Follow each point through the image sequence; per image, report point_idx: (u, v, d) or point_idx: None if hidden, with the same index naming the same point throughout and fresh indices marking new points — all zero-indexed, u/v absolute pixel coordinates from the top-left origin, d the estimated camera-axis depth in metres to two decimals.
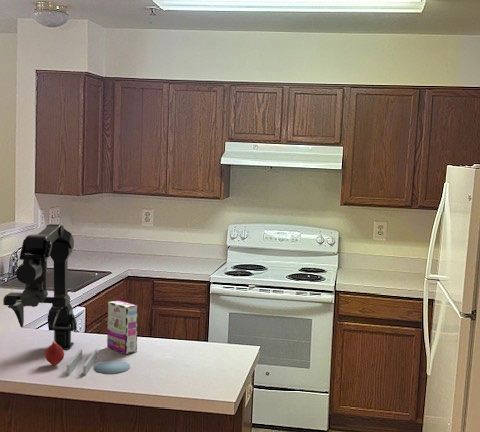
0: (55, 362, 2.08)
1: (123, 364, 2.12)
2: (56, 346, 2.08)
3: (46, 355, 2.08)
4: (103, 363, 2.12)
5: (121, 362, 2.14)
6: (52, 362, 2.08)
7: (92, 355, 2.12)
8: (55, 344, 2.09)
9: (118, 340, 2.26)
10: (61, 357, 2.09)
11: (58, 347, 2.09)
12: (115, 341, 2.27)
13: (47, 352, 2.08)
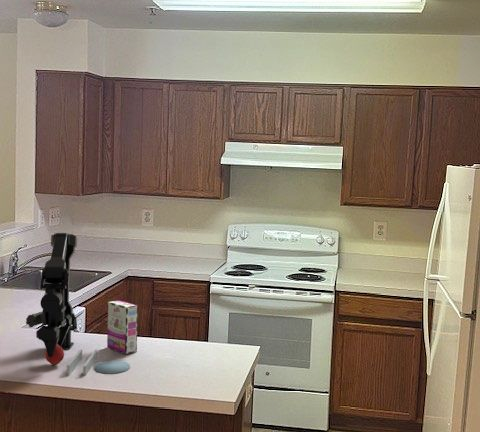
0: (55, 362, 2.08)
1: (123, 364, 2.12)
2: (56, 346, 2.08)
3: (46, 355, 2.08)
4: (103, 363, 2.12)
5: (121, 362, 2.14)
6: (52, 362, 2.08)
7: (92, 355, 2.12)
8: None
9: (118, 340, 2.26)
10: (61, 357, 2.09)
11: (58, 347, 2.09)
12: (115, 341, 2.27)
13: None
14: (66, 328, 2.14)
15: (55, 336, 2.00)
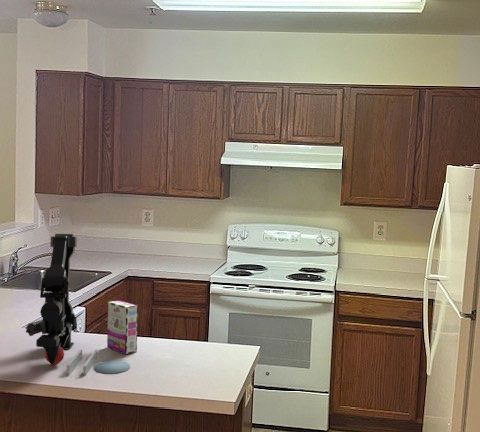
0: (55, 362, 2.08)
1: (123, 364, 2.12)
2: None
3: (46, 355, 2.08)
4: (103, 363, 2.12)
5: (121, 362, 2.14)
6: None
7: (92, 355, 2.12)
8: None
9: (118, 340, 2.26)
10: (61, 357, 2.09)
11: None
12: (115, 341, 2.27)
13: None
14: (65, 338, 2.13)
15: (55, 345, 2.00)
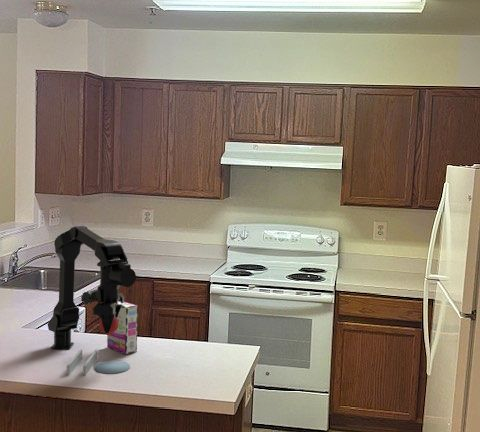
0: (110, 331, 2.07)
1: (123, 364, 2.12)
2: None
3: (101, 324, 2.06)
4: (103, 363, 2.12)
5: (121, 362, 2.14)
6: None
7: (92, 355, 2.12)
8: None
9: (118, 340, 2.26)
10: (116, 326, 2.07)
11: None
12: (115, 341, 2.27)
13: None
14: (119, 308, 2.11)
15: (112, 313, 1.99)
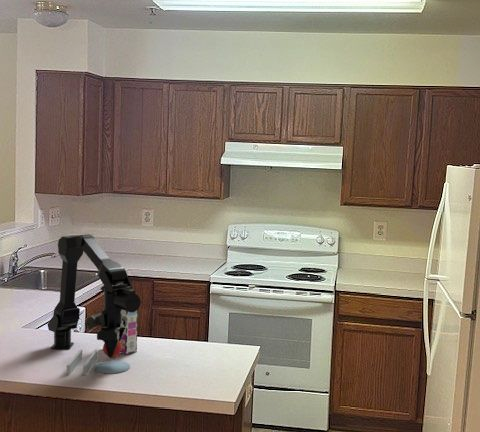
0: (113, 355, 2.08)
1: (123, 364, 2.12)
2: None
3: (104, 348, 2.07)
4: (103, 363, 2.12)
5: (121, 362, 2.14)
6: None
7: (92, 355, 2.12)
8: None
9: None
10: (119, 350, 2.08)
11: None
12: None
13: (105, 345, 2.07)
14: (122, 331, 2.13)
15: (116, 338, 2.00)
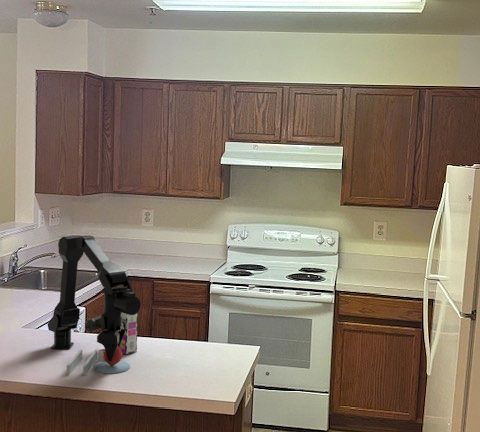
0: (113, 363, 2.08)
1: (123, 364, 2.12)
2: None
3: (105, 355, 2.07)
4: (103, 363, 2.12)
5: (121, 362, 2.14)
6: (110, 363, 2.08)
7: (92, 355, 2.12)
8: None
9: None
10: (119, 358, 2.08)
11: (116, 348, 2.08)
12: None
13: None
14: (122, 333, 2.14)
15: (116, 341, 2.00)
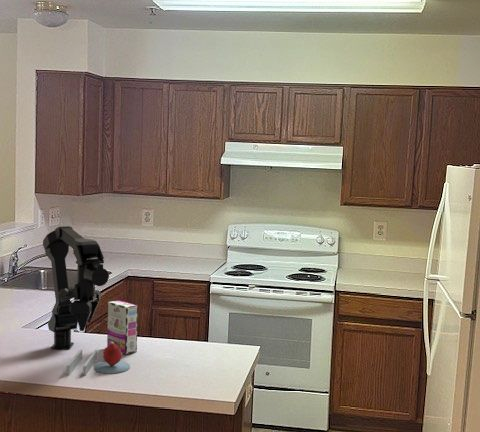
0: (113, 362, 2.08)
1: (123, 364, 2.12)
2: (114, 347, 2.08)
3: (104, 355, 2.08)
4: (103, 363, 2.12)
5: (121, 362, 2.14)
6: (110, 362, 2.08)
7: (92, 355, 2.12)
8: (113, 344, 2.09)
9: (118, 340, 2.26)
10: (119, 357, 2.09)
11: (116, 347, 2.09)
12: (115, 341, 2.27)
13: (105, 352, 2.08)
14: (96, 303, 2.19)
15: (88, 310, 2.05)
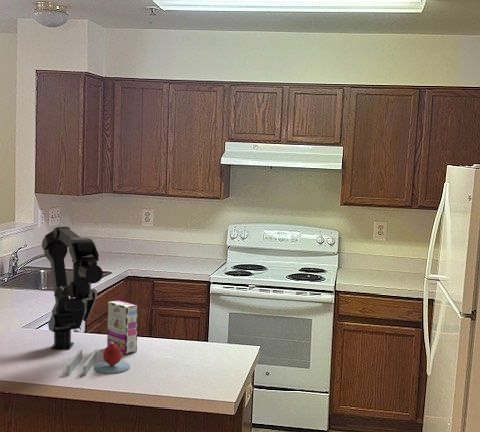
0: (113, 362, 2.08)
1: (123, 364, 2.12)
2: (114, 347, 2.08)
3: (104, 355, 2.08)
4: (103, 363, 2.12)
5: (121, 362, 2.14)
6: (110, 362, 2.08)
7: (92, 355, 2.12)
8: (113, 344, 2.09)
9: (118, 340, 2.26)
10: (119, 357, 2.08)
11: (116, 347, 2.09)
12: (115, 341, 2.27)
13: (105, 352, 2.08)
14: (92, 301, 2.19)
15: (83, 307, 2.05)
